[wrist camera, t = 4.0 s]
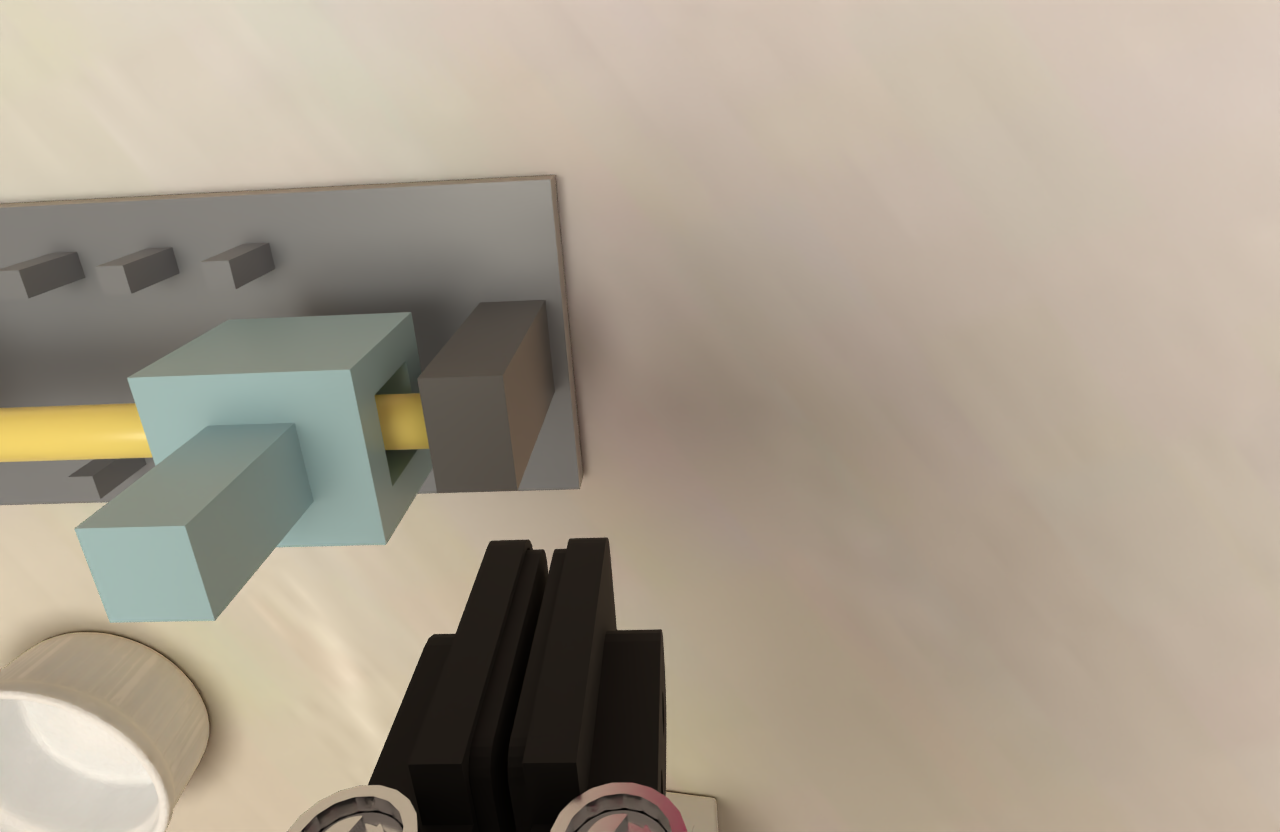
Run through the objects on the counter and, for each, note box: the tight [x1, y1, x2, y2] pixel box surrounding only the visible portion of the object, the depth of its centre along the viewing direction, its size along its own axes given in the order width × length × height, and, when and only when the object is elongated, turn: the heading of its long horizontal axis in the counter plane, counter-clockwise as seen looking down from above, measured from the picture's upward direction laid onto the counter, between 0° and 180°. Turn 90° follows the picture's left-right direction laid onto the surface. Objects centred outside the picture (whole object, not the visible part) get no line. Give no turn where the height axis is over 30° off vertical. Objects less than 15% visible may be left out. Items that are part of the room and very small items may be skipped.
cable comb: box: [0, 175, 583, 505], centre depth 23 cm, size 24×10×8 cm, turn 93°
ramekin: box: [0, 632, 209, 832], centre depth 32 cm, size 9×9×4 cm
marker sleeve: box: [75, 312, 433, 623], centre depth 19 cm, size 5×4×9 cm
